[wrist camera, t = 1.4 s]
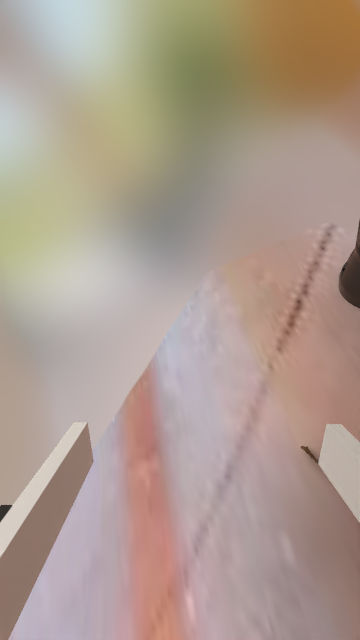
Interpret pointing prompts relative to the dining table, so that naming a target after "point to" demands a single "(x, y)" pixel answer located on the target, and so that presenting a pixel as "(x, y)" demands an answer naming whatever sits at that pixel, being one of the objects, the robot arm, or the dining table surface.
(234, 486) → the dining table surface
